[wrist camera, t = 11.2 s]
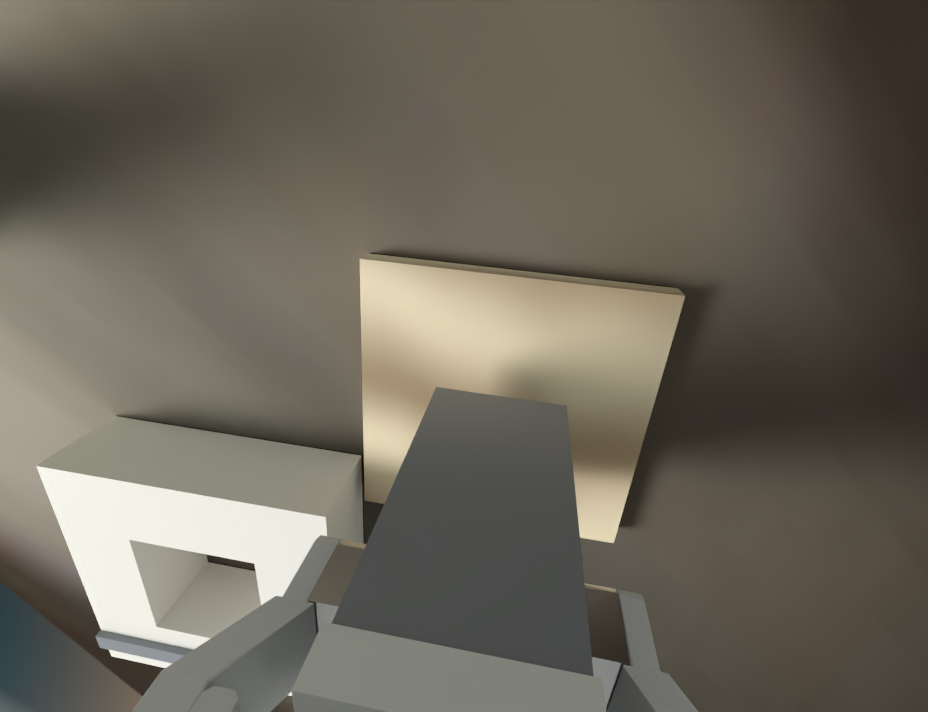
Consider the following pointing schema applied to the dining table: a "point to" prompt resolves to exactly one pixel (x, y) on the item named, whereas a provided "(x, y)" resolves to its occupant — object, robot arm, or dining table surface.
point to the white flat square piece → (191, 526)
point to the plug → (466, 576)
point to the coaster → (515, 362)
